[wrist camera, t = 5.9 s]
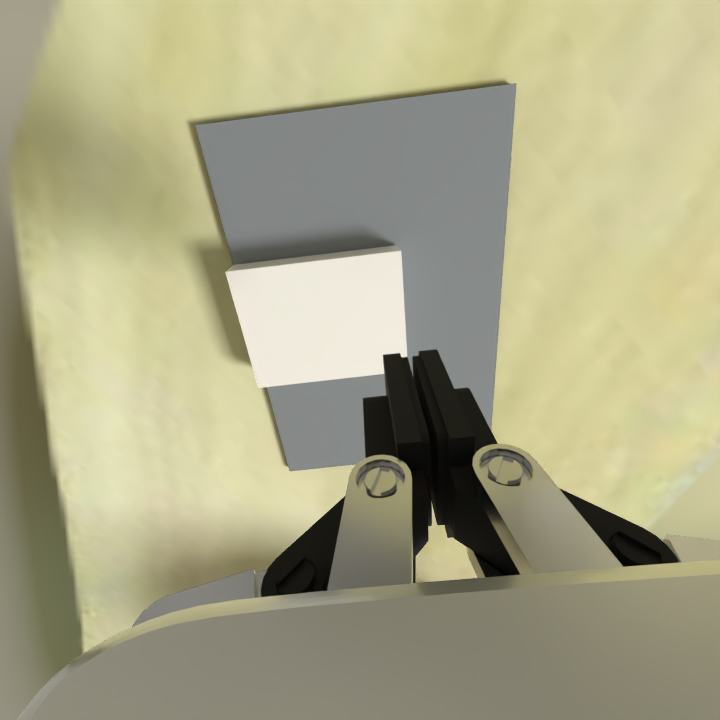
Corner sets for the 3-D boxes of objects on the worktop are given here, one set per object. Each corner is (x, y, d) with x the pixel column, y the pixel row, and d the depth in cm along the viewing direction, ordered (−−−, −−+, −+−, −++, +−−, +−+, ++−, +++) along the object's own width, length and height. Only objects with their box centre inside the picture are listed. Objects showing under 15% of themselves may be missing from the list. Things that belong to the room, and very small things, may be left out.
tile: (396, 244, 20) (234, 264, 20) (401, 250, 18) (225, 271, 18) (404, 357, 23) (264, 373, 23) (408, 371, 21) (258, 388, 22)
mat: (198, 126, 17) (195, 125, 17) (512, 85, 17) (516, 83, 17) (290, 467, 27) (289, 471, 27) (487, 446, 27) (489, 449, 27)
